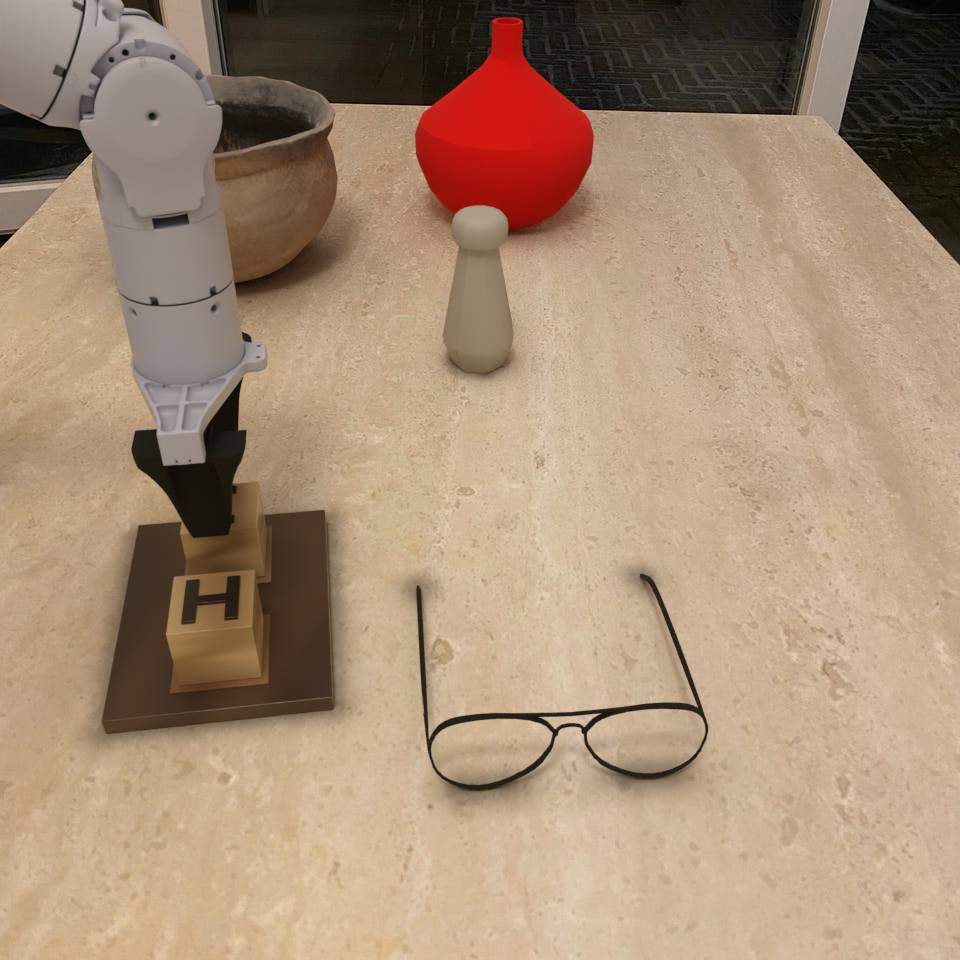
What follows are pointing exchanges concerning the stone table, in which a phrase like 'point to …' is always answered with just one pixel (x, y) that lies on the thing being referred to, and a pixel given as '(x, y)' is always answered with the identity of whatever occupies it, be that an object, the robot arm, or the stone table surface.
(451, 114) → the vase
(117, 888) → the stone table surface
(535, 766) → the glasses
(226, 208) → the ceramic bowl
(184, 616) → the tile
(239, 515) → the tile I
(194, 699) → the word board
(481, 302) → the salt shaker
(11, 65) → the robot arm
